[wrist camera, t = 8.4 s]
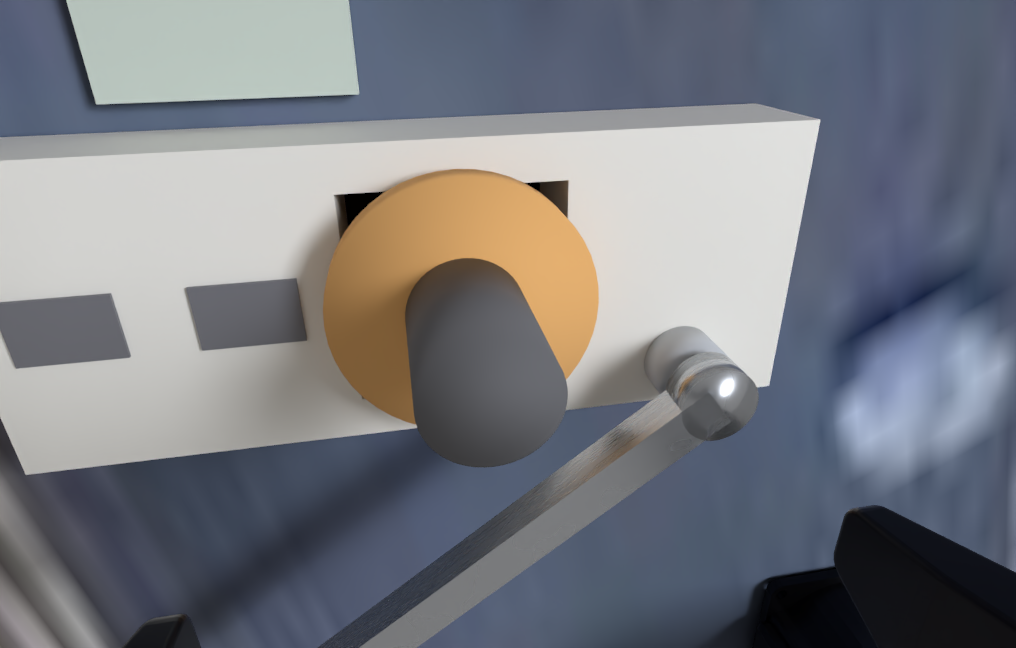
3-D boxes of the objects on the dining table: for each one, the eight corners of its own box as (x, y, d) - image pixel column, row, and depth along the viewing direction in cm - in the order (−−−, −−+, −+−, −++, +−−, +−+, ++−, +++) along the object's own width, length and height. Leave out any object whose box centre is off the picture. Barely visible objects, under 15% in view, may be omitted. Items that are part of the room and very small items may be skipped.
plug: (557, 135, 18) (678, 219, 11) (553, 340, 20) (647, 514, 13) (318, 146, 17) (275, 249, 10) (349, 361, 19) (334, 561, 12)
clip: (716, 337, 16) (760, 380, 14) (750, 386, 17) (796, 432, 15) (230, 698, 18) (214, 775, 17) (283, 724, 19) (273, 800, 17)
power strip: (756, 103, 18) (853, 127, 15) (720, 339, 22) (792, 407, 18) (-26, 138, 15) (-157, 181, 11) (75, 408, 18) (0, 508, 15)
